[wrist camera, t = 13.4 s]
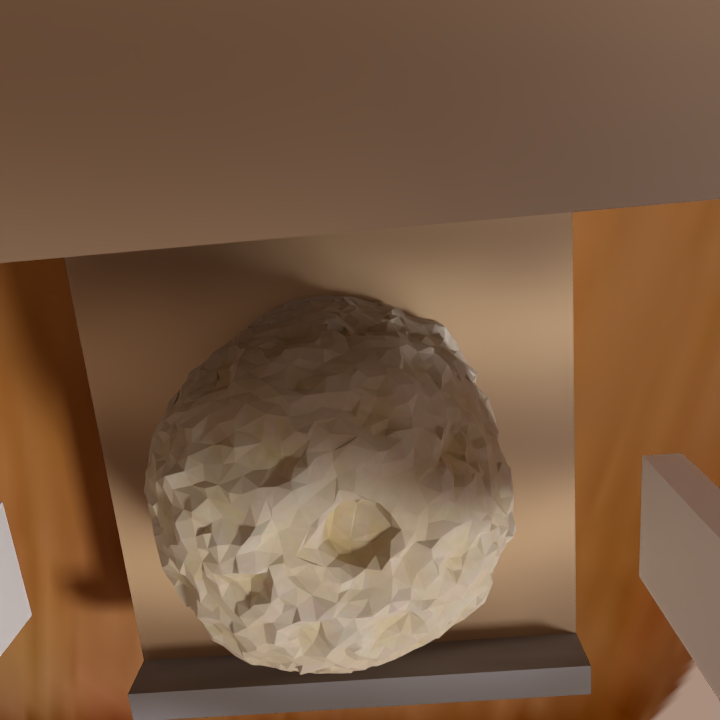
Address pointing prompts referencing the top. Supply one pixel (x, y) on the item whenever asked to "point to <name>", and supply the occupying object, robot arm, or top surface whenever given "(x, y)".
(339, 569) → the sponge
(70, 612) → the top surface
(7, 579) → the robot arm
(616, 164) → the board
